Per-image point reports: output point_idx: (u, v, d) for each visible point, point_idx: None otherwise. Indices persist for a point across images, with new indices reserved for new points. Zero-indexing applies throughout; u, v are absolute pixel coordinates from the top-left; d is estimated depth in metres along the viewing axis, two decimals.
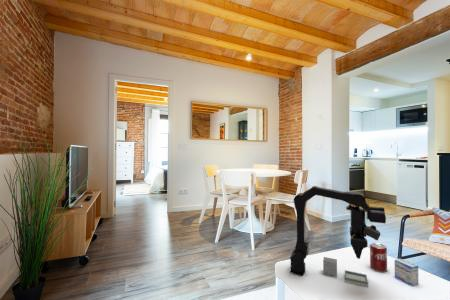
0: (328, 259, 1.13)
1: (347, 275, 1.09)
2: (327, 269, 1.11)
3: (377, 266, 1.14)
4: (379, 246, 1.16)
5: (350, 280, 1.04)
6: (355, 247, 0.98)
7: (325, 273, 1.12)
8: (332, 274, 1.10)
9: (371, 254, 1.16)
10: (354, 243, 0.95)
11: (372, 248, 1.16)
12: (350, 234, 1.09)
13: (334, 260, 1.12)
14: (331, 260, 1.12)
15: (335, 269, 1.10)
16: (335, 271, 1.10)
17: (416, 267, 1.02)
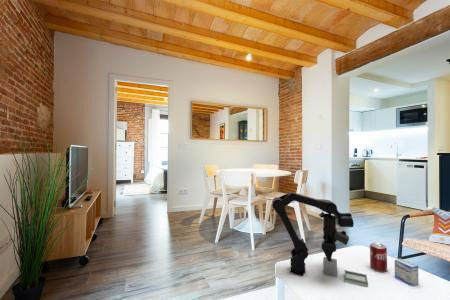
0: None
1: (347, 275, 1.09)
2: (327, 269, 1.11)
3: (377, 266, 1.14)
4: (379, 246, 1.16)
5: (350, 280, 1.04)
6: (326, 251, 1.08)
7: (325, 273, 1.12)
8: (332, 274, 1.10)
9: (371, 254, 1.16)
10: (324, 247, 1.05)
11: (372, 248, 1.16)
12: (324, 239, 1.18)
13: (334, 260, 1.12)
14: (331, 260, 1.12)
15: (335, 269, 1.10)
16: (335, 271, 1.10)
17: (416, 267, 1.02)
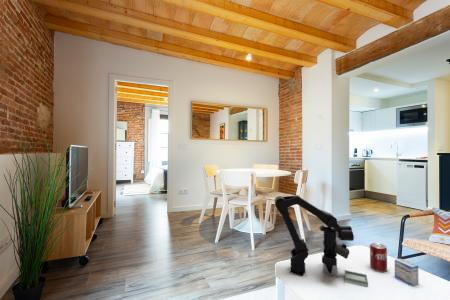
0: None
1: (347, 275, 1.09)
2: None
3: (377, 266, 1.14)
4: (379, 246, 1.16)
5: (350, 280, 1.04)
6: None
7: (325, 273, 1.12)
8: (332, 274, 1.10)
9: (371, 254, 1.16)
10: (325, 262, 1.05)
11: (372, 248, 1.16)
12: (324, 253, 1.16)
13: None
14: None
15: (335, 269, 1.10)
16: (335, 271, 1.10)
17: (416, 267, 1.02)
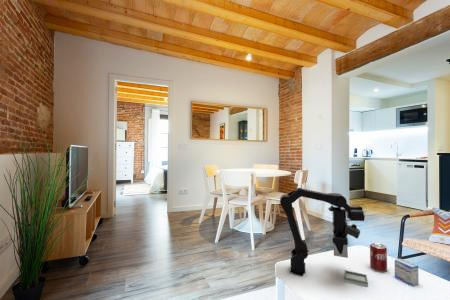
0: None
1: (347, 275, 1.09)
2: None
3: (377, 266, 1.14)
4: (379, 246, 1.16)
5: (350, 280, 1.04)
6: (337, 243, 1.07)
7: (335, 254, 1.09)
8: (343, 255, 1.08)
9: (371, 254, 1.16)
10: (336, 242, 1.03)
11: (372, 248, 1.16)
12: None
13: None
14: None
15: (346, 249, 1.07)
16: (346, 252, 1.07)
17: (416, 267, 1.02)
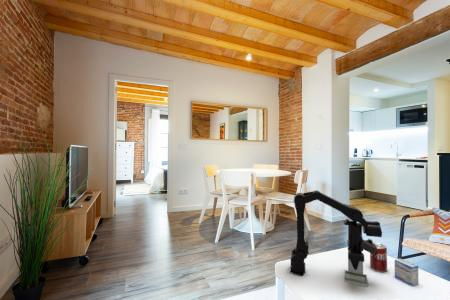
0: None
1: (347, 275, 1.09)
2: (352, 265, 1.05)
3: (377, 266, 1.14)
4: (379, 246, 1.16)
5: (350, 280, 1.04)
6: None
7: (350, 270, 1.06)
8: (358, 271, 1.04)
9: (371, 254, 1.16)
10: (351, 258, 0.99)
11: None
12: (348, 249, 1.10)
13: None
14: None
15: (361, 265, 1.04)
16: (361, 267, 1.04)
17: (416, 267, 1.02)
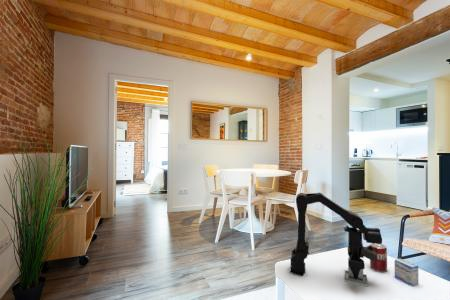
0: None
1: (347, 275, 1.09)
2: None
3: (377, 266, 1.14)
4: (379, 246, 1.16)
5: (350, 280, 1.04)
6: (353, 268, 1.02)
7: (350, 277, 1.06)
8: (358, 279, 1.04)
9: None
10: (352, 265, 0.99)
11: None
12: (348, 254, 1.12)
13: None
14: None
15: (361, 273, 1.04)
16: (361, 275, 1.04)
17: (416, 267, 1.02)
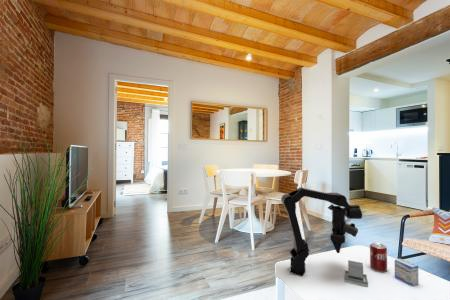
0: (353, 263, 1.07)
1: (347, 275, 1.09)
2: (353, 273, 1.05)
3: (377, 266, 1.14)
4: (379, 246, 1.16)
5: (350, 280, 1.04)
6: (335, 242, 1.09)
7: (350, 277, 1.06)
8: (358, 279, 1.04)
9: (371, 254, 1.16)
10: (333, 239, 1.07)
11: (372, 248, 1.16)
12: (333, 231, 1.20)
13: (360, 264, 1.06)
14: (356, 263, 1.06)
15: (361, 273, 1.04)
16: (361, 275, 1.04)
17: (416, 267, 1.02)
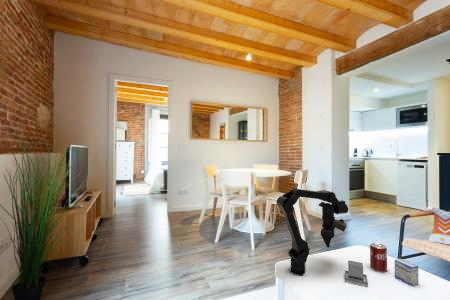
0: (353, 263, 1.07)
1: (347, 275, 1.09)
2: (353, 273, 1.05)
3: (377, 266, 1.14)
4: (379, 246, 1.16)
5: (350, 280, 1.04)
6: (325, 238, 1.14)
7: (350, 277, 1.06)
8: (358, 279, 1.04)
9: (371, 254, 1.16)
10: (323, 234, 1.12)
11: (372, 248, 1.16)
12: (323, 227, 1.25)
13: (360, 264, 1.06)
14: (356, 263, 1.06)
15: (361, 273, 1.04)
16: (361, 275, 1.04)
17: (416, 267, 1.02)
